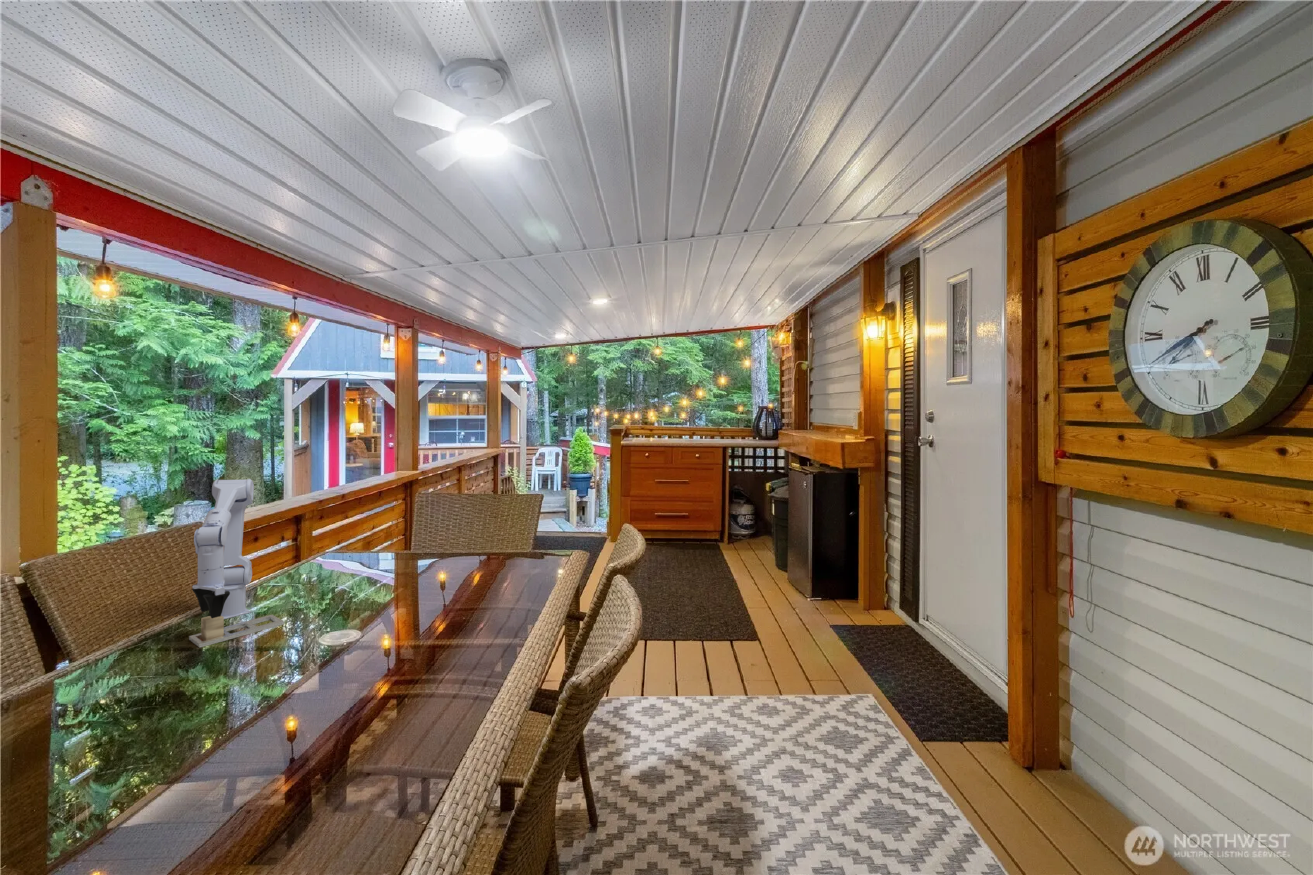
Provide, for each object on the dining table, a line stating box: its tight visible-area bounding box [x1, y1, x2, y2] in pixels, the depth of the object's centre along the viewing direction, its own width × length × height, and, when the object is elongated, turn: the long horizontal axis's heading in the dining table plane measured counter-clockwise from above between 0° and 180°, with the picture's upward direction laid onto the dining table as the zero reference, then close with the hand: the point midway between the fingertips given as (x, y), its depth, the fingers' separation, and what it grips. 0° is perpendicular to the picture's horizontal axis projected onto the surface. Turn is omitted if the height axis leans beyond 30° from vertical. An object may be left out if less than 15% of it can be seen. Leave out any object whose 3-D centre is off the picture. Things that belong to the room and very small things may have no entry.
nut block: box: [200, 615, 225, 641], centre depth 150 cm, size 4×4×6 cm
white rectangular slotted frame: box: [188, 614, 285, 648], centre depth 155 cm, size 8×20×1 cm, turn 147°
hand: (210, 613), depth 150 cm, fingers open, 7 cm apart
